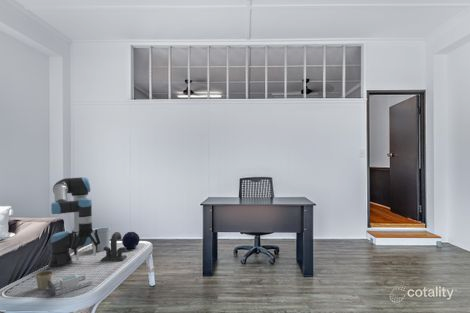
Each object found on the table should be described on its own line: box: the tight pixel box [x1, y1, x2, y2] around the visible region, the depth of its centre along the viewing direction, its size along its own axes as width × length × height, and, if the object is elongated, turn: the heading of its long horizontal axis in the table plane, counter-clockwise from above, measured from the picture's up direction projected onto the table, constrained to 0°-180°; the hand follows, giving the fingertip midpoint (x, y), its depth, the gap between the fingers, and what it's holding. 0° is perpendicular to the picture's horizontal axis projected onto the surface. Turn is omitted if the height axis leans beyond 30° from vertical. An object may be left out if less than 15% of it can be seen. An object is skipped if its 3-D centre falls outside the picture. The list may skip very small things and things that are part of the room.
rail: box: [47, 275, 93, 297], centre depth 179 cm, size 13×21×5 cm, turn 134°
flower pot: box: [34, 270, 54, 291], centre depth 179 cm, size 9×9×9 cm
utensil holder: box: [91, 226, 111, 252], centre depth 256 cm, size 15×15×18 cm
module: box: [59, 274, 80, 290], centre depth 179 cm, size 6×9×6 cm, turn 136°
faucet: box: [100, 231, 128, 262], centre depth 232 cm, size 18×16×20 cm
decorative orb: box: [121, 231, 140, 250], centre depth 256 cm, size 14×15×15 cm
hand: (86, 257), depth 186 cm, fingers open, 10 cm apart
